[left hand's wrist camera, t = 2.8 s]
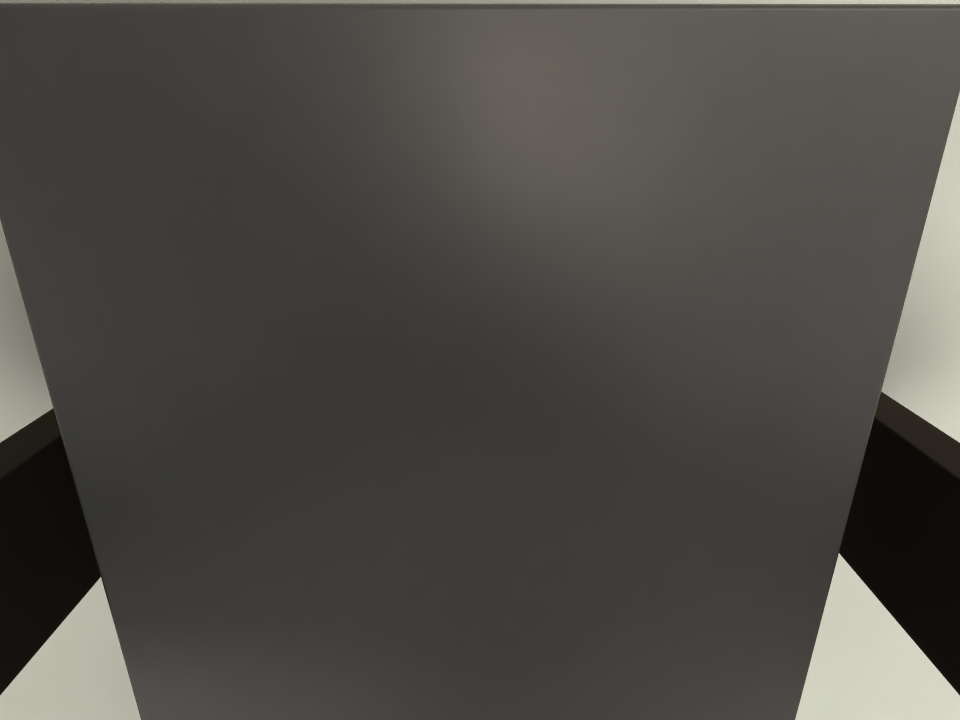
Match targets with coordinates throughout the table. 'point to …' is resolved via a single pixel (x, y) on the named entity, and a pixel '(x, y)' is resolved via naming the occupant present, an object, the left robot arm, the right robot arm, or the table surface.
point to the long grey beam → (468, 337)
